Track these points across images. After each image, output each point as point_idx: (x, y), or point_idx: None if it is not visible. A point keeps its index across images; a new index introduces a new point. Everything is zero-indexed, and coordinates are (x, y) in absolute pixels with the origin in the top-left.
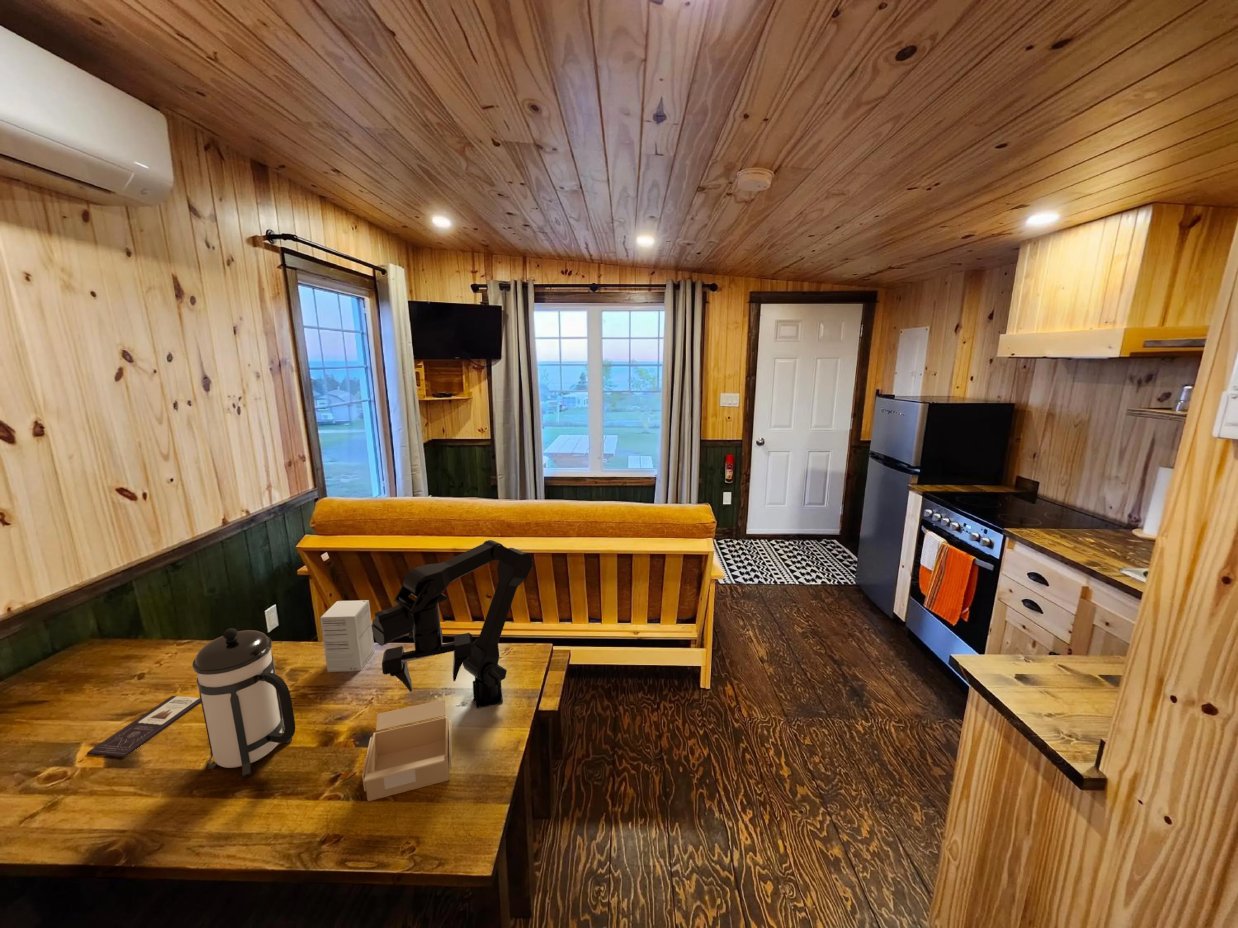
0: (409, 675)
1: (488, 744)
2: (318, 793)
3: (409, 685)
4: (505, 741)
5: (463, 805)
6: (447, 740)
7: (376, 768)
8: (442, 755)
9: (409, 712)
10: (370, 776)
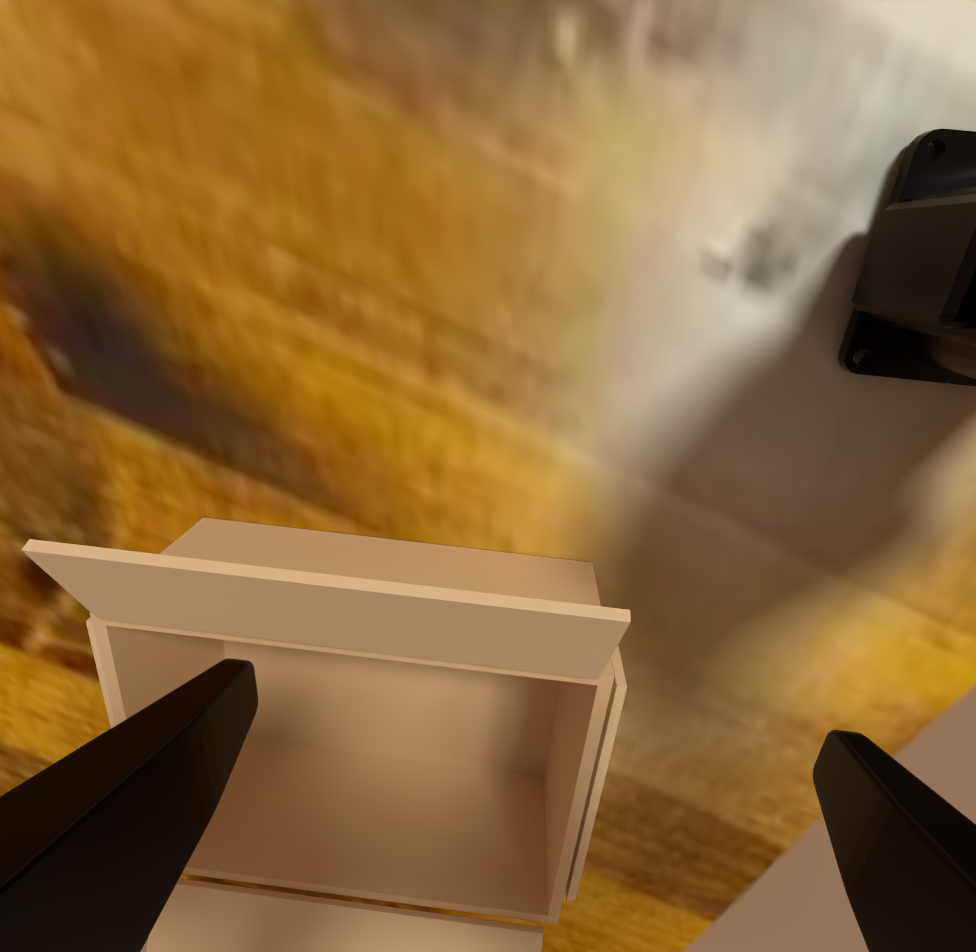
0: (73, 868)
1: (778, 680)
2: (6, 621)
3: (171, 878)
4: (867, 698)
5: (584, 879)
6: (573, 848)
7: None
8: (531, 936)
9: (311, 609)
10: (173, 947)
